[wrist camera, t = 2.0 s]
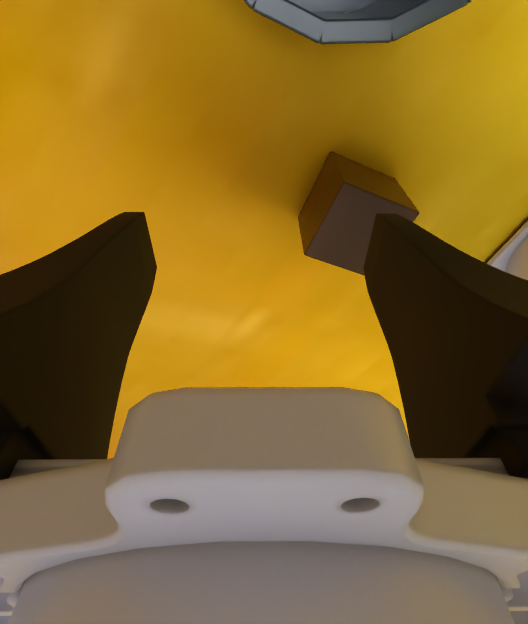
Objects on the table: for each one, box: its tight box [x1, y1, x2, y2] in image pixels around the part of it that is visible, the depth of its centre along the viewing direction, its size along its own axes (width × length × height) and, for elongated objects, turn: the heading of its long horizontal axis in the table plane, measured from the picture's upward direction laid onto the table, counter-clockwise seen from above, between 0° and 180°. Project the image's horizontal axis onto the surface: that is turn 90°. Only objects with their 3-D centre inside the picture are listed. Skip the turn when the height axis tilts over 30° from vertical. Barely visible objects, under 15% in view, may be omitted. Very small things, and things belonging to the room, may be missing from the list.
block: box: [298, 152, 419, 275], centre depth 19 cm, size 4×4×4 cm
